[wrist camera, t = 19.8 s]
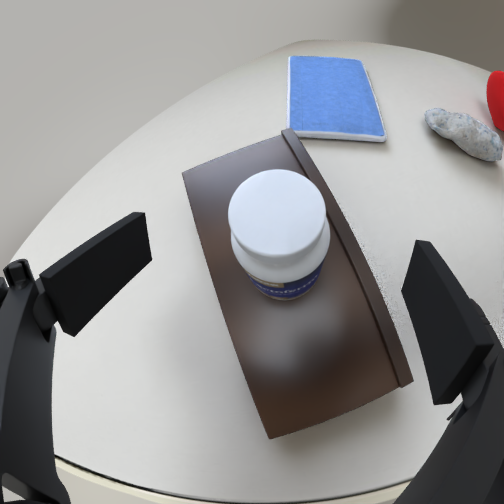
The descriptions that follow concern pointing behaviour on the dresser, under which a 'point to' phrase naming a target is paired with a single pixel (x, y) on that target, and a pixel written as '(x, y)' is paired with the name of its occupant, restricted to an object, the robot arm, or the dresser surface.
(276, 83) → the dresser surface
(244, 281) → the ledge
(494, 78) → the heart
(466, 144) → the decorative stone
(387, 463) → the dresser surface
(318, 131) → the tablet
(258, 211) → the pill bottle
